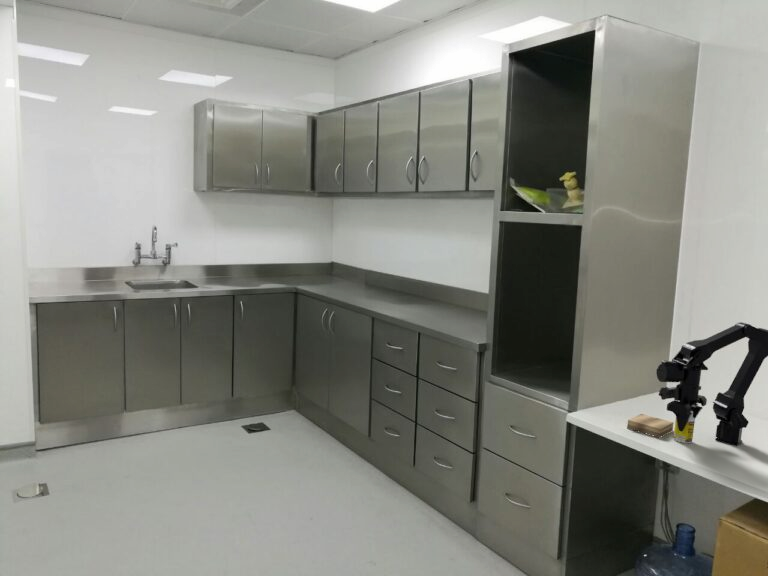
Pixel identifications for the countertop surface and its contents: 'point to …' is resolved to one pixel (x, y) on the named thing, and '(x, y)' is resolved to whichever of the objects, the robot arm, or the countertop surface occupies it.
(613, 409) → the countertop surface
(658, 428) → the brown box
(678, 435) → the supplement bottle
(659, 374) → the robot arm
